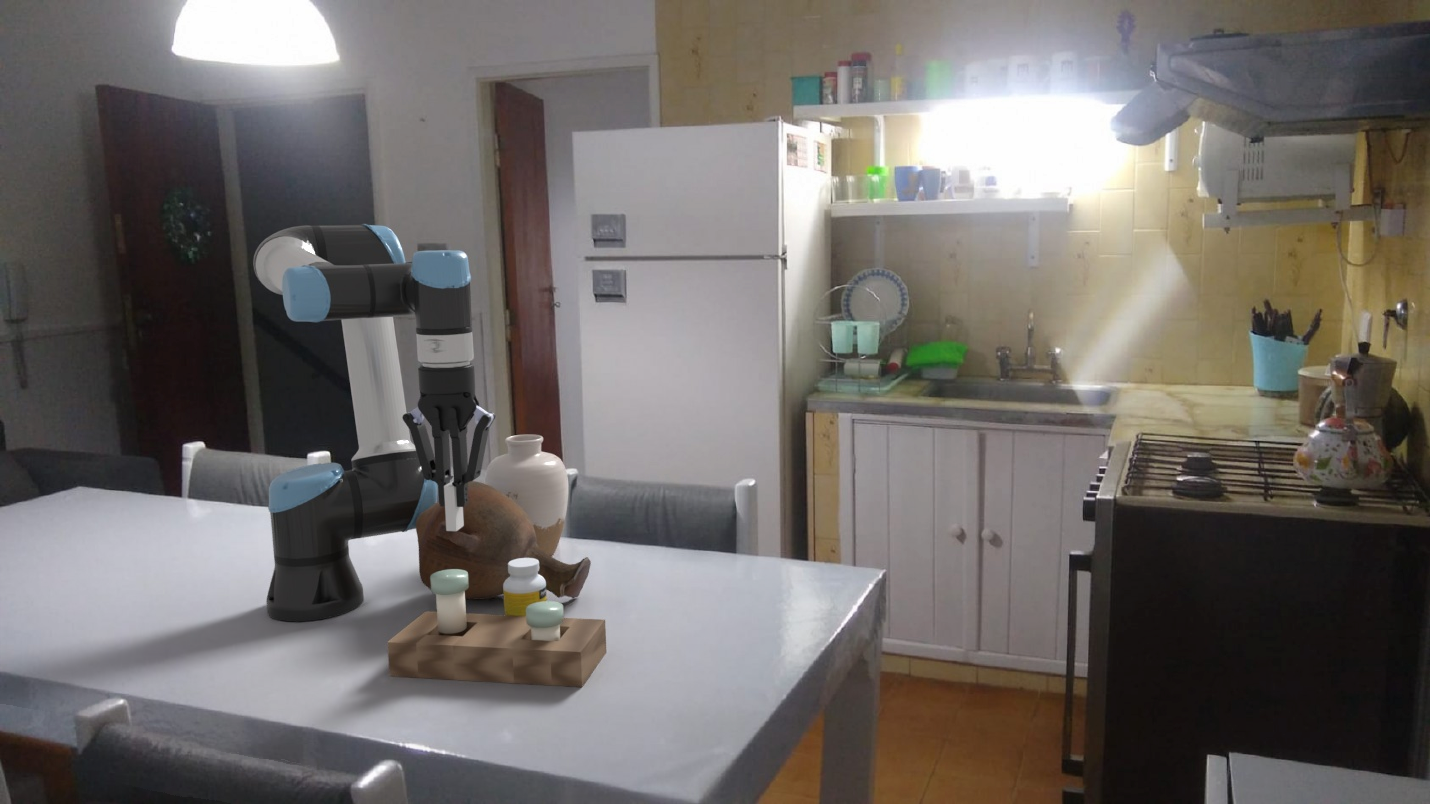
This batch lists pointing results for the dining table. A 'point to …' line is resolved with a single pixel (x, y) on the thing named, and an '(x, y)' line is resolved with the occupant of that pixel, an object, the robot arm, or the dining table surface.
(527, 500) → the vase
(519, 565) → the pill bottle
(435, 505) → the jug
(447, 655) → the mount
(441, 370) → the robot arm
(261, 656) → the dining table surface
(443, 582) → the knob
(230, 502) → the dining table surface
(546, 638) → the knob
